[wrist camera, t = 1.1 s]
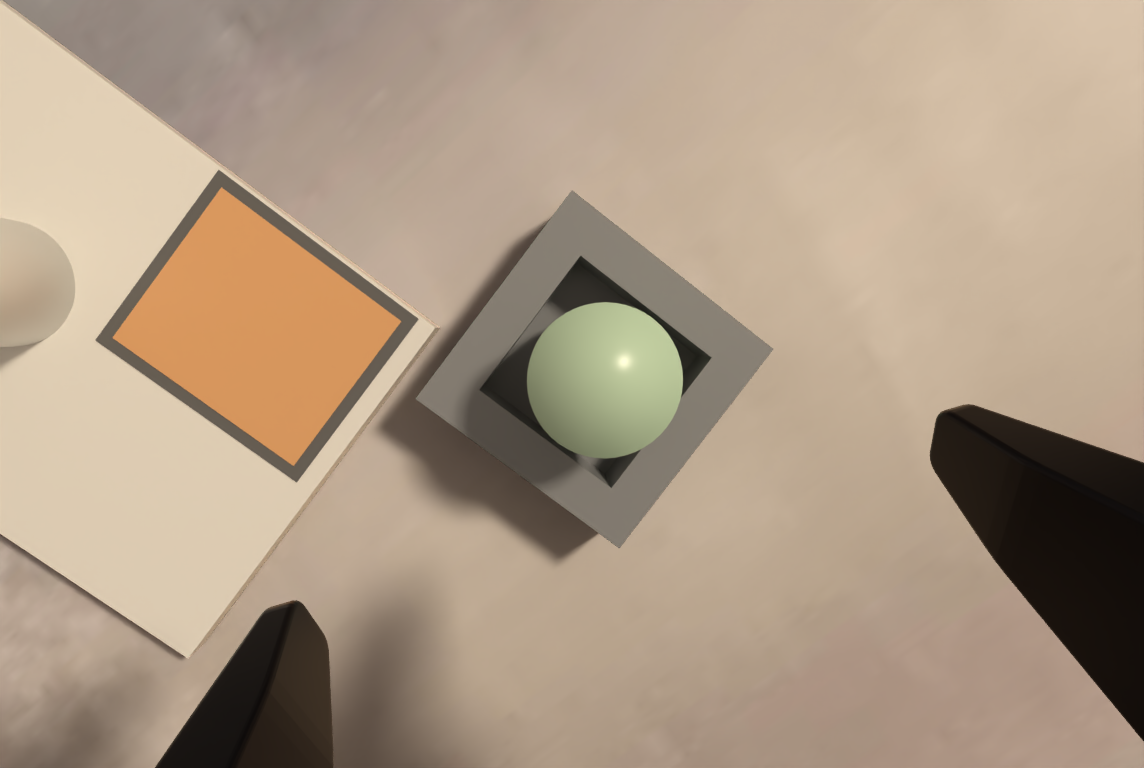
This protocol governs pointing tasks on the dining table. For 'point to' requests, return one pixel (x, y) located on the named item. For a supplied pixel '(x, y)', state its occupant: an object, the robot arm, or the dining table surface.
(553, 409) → the button
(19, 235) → the marker
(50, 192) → the colouring mat
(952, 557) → the dining table surface
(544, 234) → the button housing
